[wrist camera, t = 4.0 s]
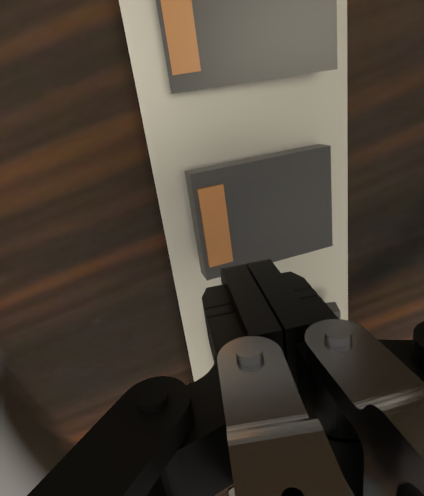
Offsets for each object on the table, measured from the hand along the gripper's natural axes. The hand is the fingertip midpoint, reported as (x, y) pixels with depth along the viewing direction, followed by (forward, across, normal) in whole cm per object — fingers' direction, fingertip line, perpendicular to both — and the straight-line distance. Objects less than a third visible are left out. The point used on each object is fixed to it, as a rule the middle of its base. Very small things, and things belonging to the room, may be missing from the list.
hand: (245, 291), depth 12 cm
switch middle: (+8, -3, 0) cm, 8 cm away
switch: (+8, -3, -8) cm, 12 cm away
